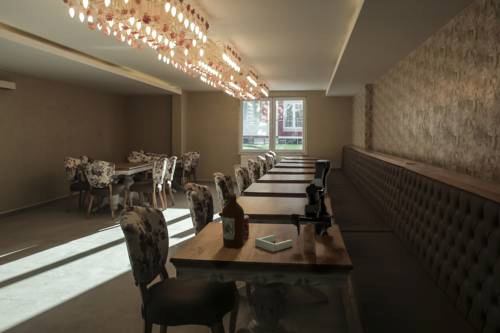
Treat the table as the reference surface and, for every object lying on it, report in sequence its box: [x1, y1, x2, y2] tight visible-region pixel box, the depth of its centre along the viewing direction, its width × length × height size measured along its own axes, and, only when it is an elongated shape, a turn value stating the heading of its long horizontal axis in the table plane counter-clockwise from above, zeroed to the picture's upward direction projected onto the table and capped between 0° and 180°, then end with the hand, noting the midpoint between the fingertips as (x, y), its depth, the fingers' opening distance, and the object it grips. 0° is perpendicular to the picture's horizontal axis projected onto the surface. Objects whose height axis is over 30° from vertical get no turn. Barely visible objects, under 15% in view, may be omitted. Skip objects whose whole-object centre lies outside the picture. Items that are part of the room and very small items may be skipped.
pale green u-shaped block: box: [254, 234, 293, 253], centre depth 183 cm, size 12×12×3 cm
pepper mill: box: [303, 222, 315, 254], centre depth 174 cm, size 5×5×13 cm
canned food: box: [243, 214, 250, 240], centre depth 198 cm, size 8×8×11 cm
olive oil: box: [221, 192, 245, 249], centre depth 183 cm, size 11×11×25 cm
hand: (308, 236), depth 173 cm, fingers open, 9 cm apart
